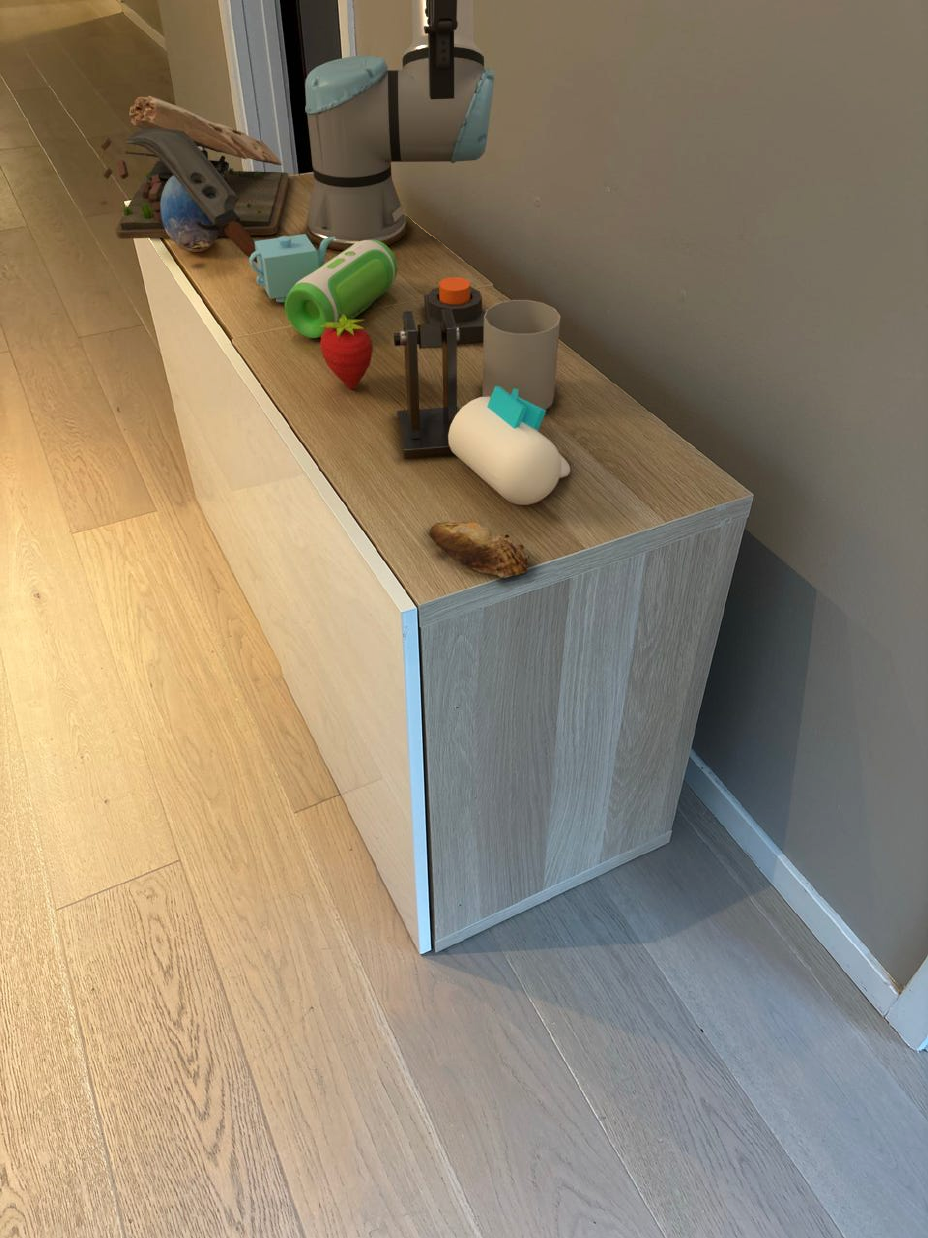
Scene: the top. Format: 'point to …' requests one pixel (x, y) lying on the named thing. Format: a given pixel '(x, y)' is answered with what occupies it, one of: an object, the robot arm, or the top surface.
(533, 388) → the cup
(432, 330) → the lever
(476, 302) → the control block
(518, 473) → the white handled jug
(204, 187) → the knife
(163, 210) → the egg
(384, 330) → the top surface
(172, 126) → the broken wood plank
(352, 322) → the strawberry
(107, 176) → the tank diorama
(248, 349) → the top surface
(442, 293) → the button
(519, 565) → the oyster shell
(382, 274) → the speaker
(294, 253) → the teapot
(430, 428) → the bracket
